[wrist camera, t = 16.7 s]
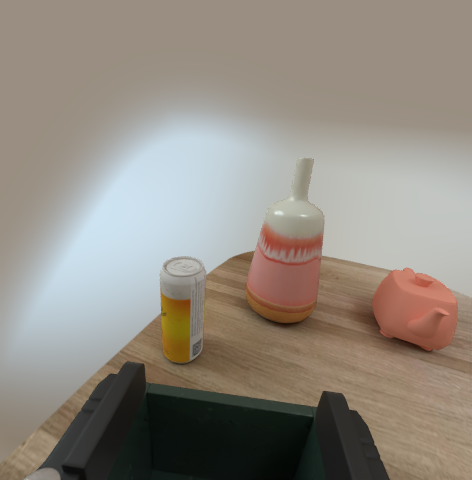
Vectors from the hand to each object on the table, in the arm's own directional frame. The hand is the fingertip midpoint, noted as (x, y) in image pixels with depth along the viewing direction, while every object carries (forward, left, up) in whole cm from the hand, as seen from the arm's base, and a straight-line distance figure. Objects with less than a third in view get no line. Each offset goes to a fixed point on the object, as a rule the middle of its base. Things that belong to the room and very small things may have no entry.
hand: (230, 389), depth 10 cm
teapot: (+32, +30, -20) cm, 48 cm away
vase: (+8, +33, -20) cm, 39 cm away
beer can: (-8, +19, -20) cm, 29 cm away
